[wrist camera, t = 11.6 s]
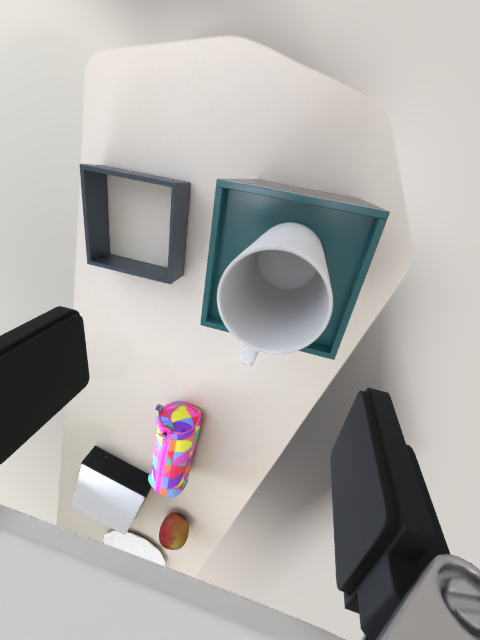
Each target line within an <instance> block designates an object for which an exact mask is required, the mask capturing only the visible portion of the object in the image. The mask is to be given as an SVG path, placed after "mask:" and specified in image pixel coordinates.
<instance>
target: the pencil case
mask: <svg viewBox="0 0 480 640" xmlns="http://www.w3.org/2000/svg"><path fill="white" fill-rule="evenodd" d="M156 410H158V411H159V413H158V416H157V425H158V428H157V432H156V439H155V447H154V456H153V469H152V471H151V472H150V474H149V476H148V481H149V483H150V485H151V486H152V488H153V489H154V490H155V492H156V493H159V494H161V495H162V496H165V497H175V496H177V495H178V494H180V493H181V492H182V491H183V489H184V488H185V486H186V484H187V482H188V476H189V471H190V466H191V461H192V457H193V454H194V449H195V446H196V442H197V439H198V436H199V431H200V425H201V420H202V414H201V412H200V410H199V409H198V408H196V407H194V406H192V405H189V404H187V403H183V402H172V403H170V404H167V405H166V406H164V407H163V406H162V405H157V407H156Z"/></svg>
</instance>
